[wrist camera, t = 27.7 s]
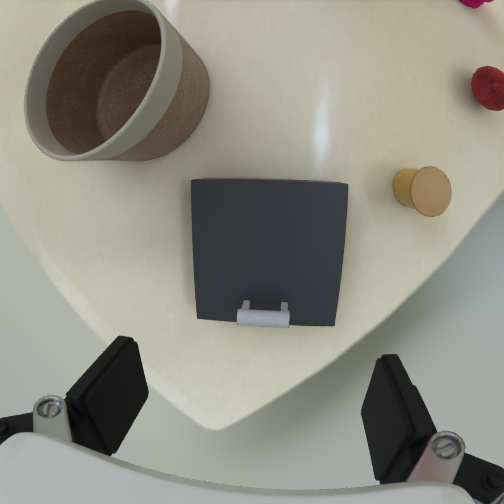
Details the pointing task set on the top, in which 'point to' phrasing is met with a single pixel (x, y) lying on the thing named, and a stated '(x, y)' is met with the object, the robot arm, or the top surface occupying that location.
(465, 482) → the robot arm
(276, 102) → the top surface
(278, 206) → the lid
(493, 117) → the top surface
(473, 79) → the onion
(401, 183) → the coffee pod
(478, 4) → the pepper mill
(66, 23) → the planter
